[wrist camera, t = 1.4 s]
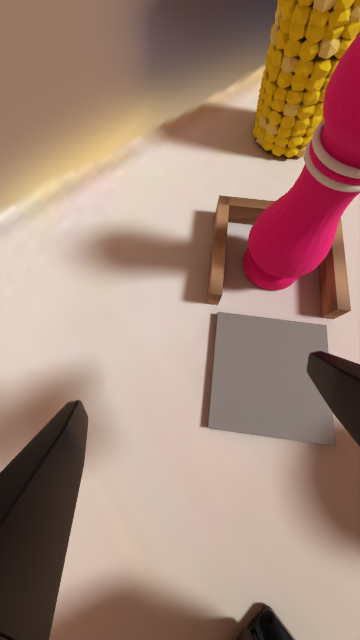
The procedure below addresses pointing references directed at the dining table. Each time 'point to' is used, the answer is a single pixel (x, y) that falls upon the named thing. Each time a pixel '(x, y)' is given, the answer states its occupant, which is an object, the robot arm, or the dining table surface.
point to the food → (301, 70)
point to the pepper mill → (313, 189)
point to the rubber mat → (268, 379)
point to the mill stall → (247, 212)
